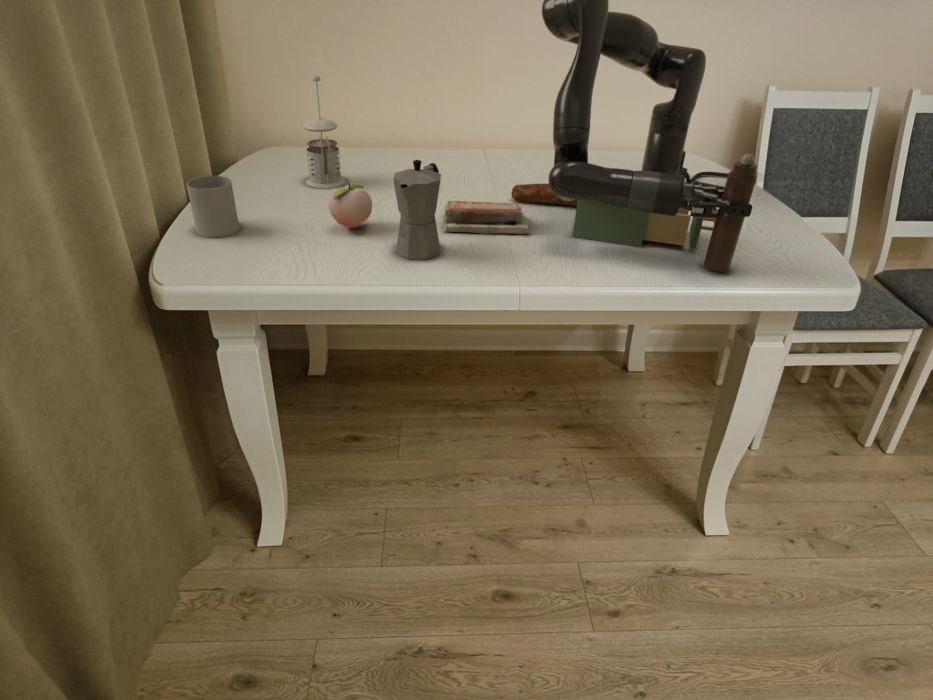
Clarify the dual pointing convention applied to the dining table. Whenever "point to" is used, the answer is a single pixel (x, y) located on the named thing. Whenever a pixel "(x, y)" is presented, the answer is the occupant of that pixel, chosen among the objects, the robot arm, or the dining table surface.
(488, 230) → the packaged product
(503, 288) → the dining table surface
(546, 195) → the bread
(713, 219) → the drawer
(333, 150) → the french press
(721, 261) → the pepper mill
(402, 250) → the coffeepot
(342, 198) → the decorative fruit
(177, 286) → the dining table surface
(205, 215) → the cup
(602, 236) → the cabinet
